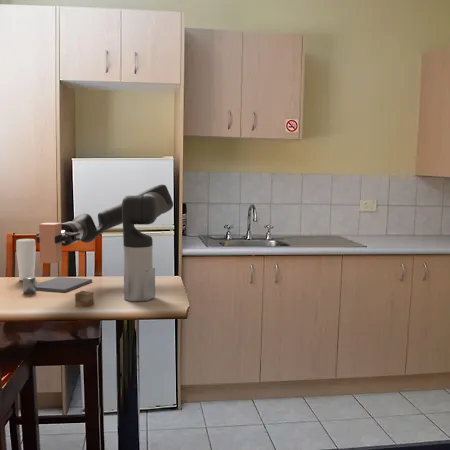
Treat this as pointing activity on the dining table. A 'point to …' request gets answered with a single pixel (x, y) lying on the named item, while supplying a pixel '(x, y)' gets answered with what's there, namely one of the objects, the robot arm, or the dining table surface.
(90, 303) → the walnut cube
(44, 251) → the terracotta block
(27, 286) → the grey tin
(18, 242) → the drinking glass
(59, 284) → the charcoal mat
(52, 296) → the dining table surface
